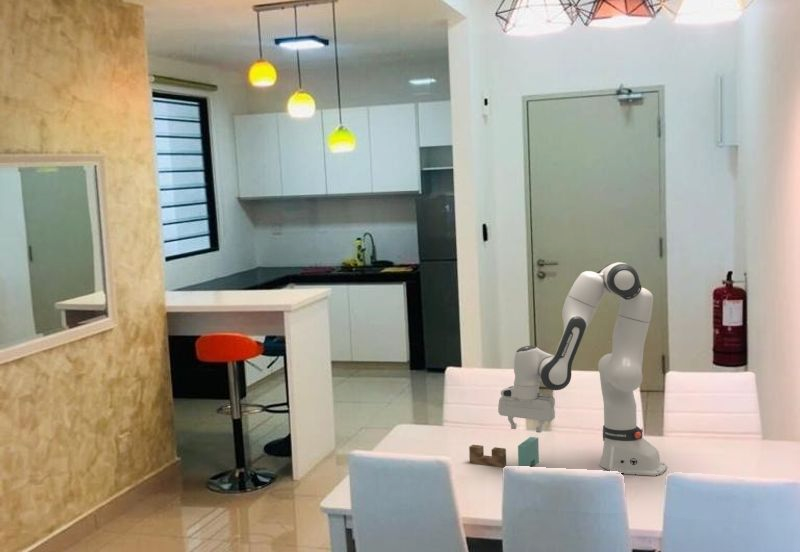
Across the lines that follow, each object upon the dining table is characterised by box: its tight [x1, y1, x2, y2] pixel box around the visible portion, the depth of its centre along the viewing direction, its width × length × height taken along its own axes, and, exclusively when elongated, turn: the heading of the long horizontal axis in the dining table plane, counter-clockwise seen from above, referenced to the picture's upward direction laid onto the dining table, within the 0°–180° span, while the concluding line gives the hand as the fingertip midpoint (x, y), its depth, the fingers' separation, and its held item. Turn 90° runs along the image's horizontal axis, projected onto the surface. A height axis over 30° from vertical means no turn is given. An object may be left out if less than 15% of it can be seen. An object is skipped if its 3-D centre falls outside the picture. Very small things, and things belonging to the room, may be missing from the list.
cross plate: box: [517, 436, 540, 467], centre depth 303 cm, size 12×3×9 cm, turn 150°
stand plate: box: [468, 444, 507, 468], centre depth 308 cm, size 13×3×6 cm, turn 60°
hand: (526, 430), depth 302 cm, fingers open, 8 cm apart
